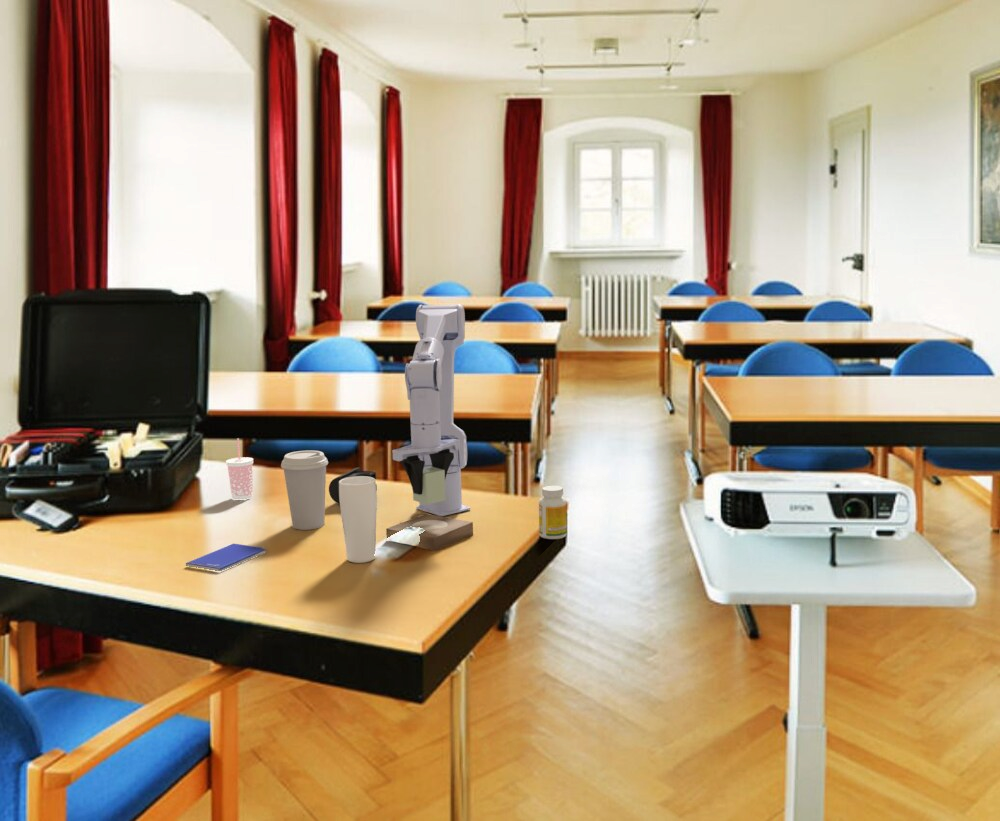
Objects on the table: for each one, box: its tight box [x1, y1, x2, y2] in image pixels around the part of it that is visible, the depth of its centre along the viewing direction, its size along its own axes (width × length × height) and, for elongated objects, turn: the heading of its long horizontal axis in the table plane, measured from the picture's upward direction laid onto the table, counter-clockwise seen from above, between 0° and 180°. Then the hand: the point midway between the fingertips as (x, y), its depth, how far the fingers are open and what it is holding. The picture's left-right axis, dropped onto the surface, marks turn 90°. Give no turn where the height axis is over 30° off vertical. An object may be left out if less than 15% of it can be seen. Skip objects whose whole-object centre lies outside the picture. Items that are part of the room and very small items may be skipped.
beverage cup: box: [225, 437, 254, 499], centre depth 233 cm, size 6×6×14 cm
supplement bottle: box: [538, 485, 568, 540], centre depth 198 cm, size 5×5×10 cm
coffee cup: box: [280, 450, 329, 531], centre depth 209 cm, size 10×10×15 cm
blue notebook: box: [185, 543, 266, 571], centre depth 190 cm, size 2×8×12 cm
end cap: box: [328, 467, 378, 506], centre depth 228 cm, size 10×7×7 cm
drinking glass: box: [339, 476, 378, 564], centre depth 186 cm, size 7×7×15 cm
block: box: [412, 466, 446, 504], centre depth 198 cm, size 4×4×6 cm
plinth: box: [385, 513, 474, 551], centre depth 199 cm, size 12×12×2 cm
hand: (428, 491), depth 198 cm, fingers closed on block, 4 cm apart
